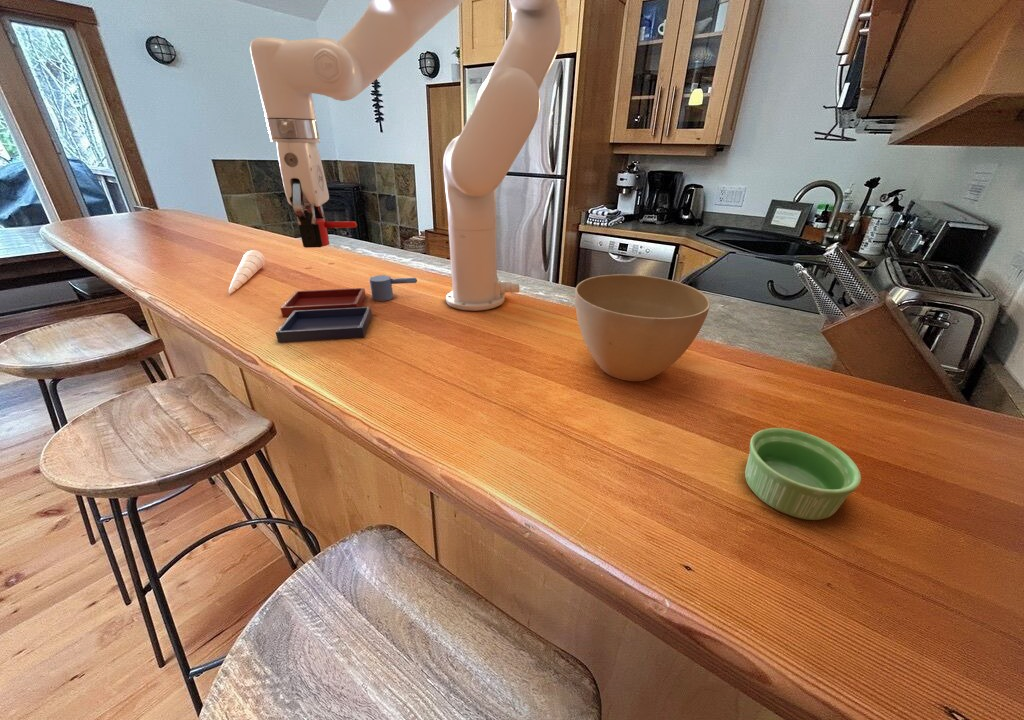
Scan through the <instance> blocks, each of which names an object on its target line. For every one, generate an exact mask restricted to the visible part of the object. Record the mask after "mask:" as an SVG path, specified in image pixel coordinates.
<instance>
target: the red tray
mask: <svg viewBox="0 0 1024 720" xmlns="http://www.w3.org/2000/svg"><path fill="white" fill-rule="evenodd" d="M366 296H367V295H366V289H365V287H359V288H358V287H356V288H355V287H353V288H335V289H333V288H331V289H310V290H296V291H295V292H294V293H292V295H291V296H290V297H289V298H288V299H287V300H286V301H285V302H284V304H282V305H281V307H280V312H281V315H282V318H288V317H289V316H290V315H291V314H292V312H293V311H297V310H317V309H337V308H357V307H362V305H363V303H364V301H365V299H366Z"/></svg>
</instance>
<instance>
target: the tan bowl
mask: <svg viewBox="0 0 1024 720" xmlns="http://www.w3.org/2000/svg"><path fill="white" fill-rule="evenodd" d="M574 294H575V295H574V300H575V313H576V319H577V324H578V329H579V332H580V334H581V336H582V339H583V342H584V344H585V346H586V349H587V350H588V352H589V354H590V355H591V357H592V358H593V359H594V361H595V363H596V364H597V365H598V366H599V369H601V370H602V371H603V372H604V373H605V374H607V375H608V376H610V377H613V378H615V379H618V380H622V381H625V382H626V381H627V382H643V381H647V380H650V379H653V378H654V377H656V376H658V375H659V374H661V373H663V372H664V371H665V370H667V369H668V368H669V367H671V366H672V365H674V364H675V363H676V362H677V361H678V360H679V359H680V358H681V357H682V356H683V355H684V354H685V353H686V352H687V350H688V349H689V348H690V346H691V345H692V344H693V342H694V341H695V339H696V338H697V336H698V334H699V333H700V331H701V329H702V327H703V325H704V324H705V321H706V319H707V316H708V313H709V310H710V308H711V301H710V298H709V297H708V295H706V294H705V293H704V292H702V291H701V290H699V289H697V288H695V287H692V286H690V285H687V284H685V283H682V282H679V281H675V280H672V279H667V278H662V277H658V276H657V277H656V276H651V275H643V274H642V275H641V274H628V273H626V274H623V273H617V274H616V273H615V274H604V275H598V276H597V275H596V276H593V277H588V278H586V279H583V280H582V281H580V282H579V283H578V284H577V285H576V286H575V292H574Z"/></svg>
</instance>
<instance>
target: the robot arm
mask: <svg viewBox="0 0 1024 720" xmlns="http://www.w3.org/2000/svg"><path fill="white" fill-rule="evenodd" d="M464 1H465V0H370V2H369V4H368V6H367V7H366V9H365V10H364V13H363V14H362V16H361V17H360V18H359V20H358V21H357V22H356V23H355V24H354V25H353V27H351V29H349V30H348V31H347V32H346V33H345V34H344V35H343V36H342V37H341V38H340V39H339V40H338V41H336V40H334V39H331V38H328V37H314V38H305V39H294V40H289V39H285V38H279V37H271V36H269V37H268V36H262V37H255V38H253V39H252V40H251V41H250V44H249V52H250V57H251V61H252V65H253V70H254V75H255V78H256V83H257V88H258V92H259V95H260V100H261V105H262V109H263V113H264V117H265V122H266V127H267V130H268V131H267V132H268V134H269V139H270V142H271V143H276V150H277V151H276V152H277V158H278V163H279V169H280V174H281V179H282V184H283V189H284V193H285V196H286V201H287V203H288V204H289V205H290V206H292V209H293V212H294V213H295V216H296V221H297V224H298V229H299V233H300V238H301V242H302V247H303V248H305V249H307V248H308V249H309V248H312V249H313V248H314V249H315V248H322V245H323V244H322V239H321V234H320V229H319V224H316V218H320V219H324V220H325V222H327V221H326V219H325V212H324V208H323V205H324V204H326V203H327V202H328V201H329V200H330V193H329V189H328V185H327V180H326V175H325V170H324V165H323V162H322V157H321V154H320V151H319V147H318V144H320V143H321V139H320V132H319V128H318V123H317V122H318V121H317V117H316V112H315V111H316V110H315V106H314V101H313V100H314V99H313V95H312V94H315V95H320V96H321V95H322V96H325V97H328V98H330V99H332V100H336V101H339V102H346V101H347V102H348V101H350V100H353V99H355V98H356V97H357V96H358V95H360V94H361V93H363V91H365V90H366V88H368V87H369V86H371V84H372V83H373V82H375V81H376V80H377V79H378V78H379V77H381V76H382V75H383V74H384V73H385V72H386V71H387V70H388V69H389V68H390V67H391V66H392V65H393V64H395V62H397V61H398V60H399V59H400V58H401V57H402V56H403V55H405V54H406V53H407V52H408V51H410V49H412V48H413V47H414V45H415V44H416V43H418V42H419V40H421V39H422V38H423V37H424V36H425V35H426V34H427V33H428V32H430V30H432V29H433V28H434V27H435V26H436V25H437V24H438V23H440V21H442V20H443V19H444V18H445V17H446V16H448V15H449V14H450V13H452V11H453V10H455V9H456V8H457V7H459V6H460V5H461V4H462V3H463V2H464ZM508 2H509V5H510V9H511V13H512V15H511V16H512V25H511V29H510V32H509V34H508V36H507V39H506V40H505V43H504V45H503V47H502V49H501V51H500V53H499V55H498V57H497V59H496V60H495V62H494V65H493V66H492V68H491V70H490V72H489V73H488V75H487V77H486V78H485V80H484V81H483V83H482V84H481V86H480V87H479V89H478V91H477V94H476V97H475V98H476V99H475V104H474V108H473V109H472V111H471V113H470V115H469V117H468V119H467V120H466V123H465V124H464V126H463V127H462V130H461V132H460V134H459V135H458V136H456V137H455V138H452V140H451V141H450V142H449V143H448V145H447V146H446V148H445V151H444V154H443V160H442V169H443V170H442V171H443V181H444V189H445V200H446V209H447V210H446V212H447V225H448V226H447V227H448V230H447V231H448V242H449V244H448V245H449V257H450V272H451V287H452V288H451V291H450V292H448V293H447V294H446V296H445V303H446V304H447V305H448V306H449V307H451V308H453V309H455V310H460V311H470V312H471V311H472V312H475V311H477V312H479V311H486V310H492V309H495V308H497V307H499V306H501V305H503V303H504V302H505V297H506V296H505V294H506V293H510V294H517V293H520V283H512V281H511V280H510V281H501V280H500V279H499V277H498V256H497V255H498V249H497V245H498V244H497V224H498V223H497V198H496V189H497V188H498V187H499V186H500V184H502V182H503V180H504V179H505V178H506V176H507V174H508V172H509V171H510V169H511V167H512V166H513V165H514V162H515V161H516V159H517V157H518V155H519V154H520V152H521V150H522V149H523V147H524V145H525V144H526V142H527V141H528V138H529V137H530V135H531V133H532V132H533V129H534V127H535V125H536V123H537V121H538V117H539V113H540V110H541V97H540V91H539V90H540V88H541V86H542V85H543V84H544V81H545V80H546V77H547V76H548V73H549V71H550V70H551V68H552V66H553V63H554V61H555V59H556V57H557V54H558V51H559V47H560V44H561V33H562V26H561V25H562V24H561V13H560V7H559V2H558V0H508ZM317 143H318V144H317ZM327 234H328V235H329V233H328V231H327ZM328 239H329V240H330V237H329V236H328Z"/></svg>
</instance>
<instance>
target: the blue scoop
mask: <svg viewBox="0 0 1024 720" xmlns="http://www.w3.org/2000/svg"><path fill="white" fill-rule="evenodd" d="M417 282H418V279H417V278H416V277H401V278H399V277H398V278H392V277H391V276H390V275H383V274H382V275H381V274H380V275H374V276H372V277H369V285H370V291H371V292H370V293H371V297H372V300H373V301H376V302H385V301H389V300H392V299H393V298H394V291H393V285H398V284H401V285H403V284H416V283H417Z"/></svg>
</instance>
